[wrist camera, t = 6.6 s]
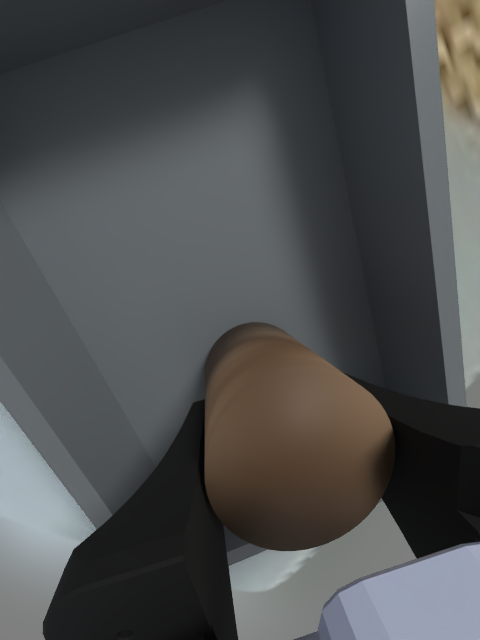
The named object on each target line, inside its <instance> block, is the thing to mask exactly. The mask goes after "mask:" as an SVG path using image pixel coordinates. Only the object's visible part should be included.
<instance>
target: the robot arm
mask: <svg viewBox="0 0 480 640" xmlns="http://www.w3.org/2000/svg"><path fill="white" fill-rule="evenodd" d="M342 373H343V372H342ZM344 374H345V375H347V376H348V377H349V378H351V379H352V380H354V381H355V382H356V383H358V384H359V385H361V386H362V387H363V388H365V389H366V390H367V391H368V392H370V393H371V394H372V395H373V396H374V397H375V398H376V399H377V400H378V401H379V403H380V404H381V406H382V407H383V409H384V410H385V411H386V414H387V416H388V418H389V420H390V422H391V425H392V429H393V432H394V438H395V462H394V468H393V472H392V476H391V478H390V481H389V484H388V486H387V488H386V490H385V492H384V494H383V496H382V500H383V501H384V503H385V504H386V506H387V508H388V509H389V511H390V513H391V515H392V516H393V518H394V519H395V521H396V523H397V525H398V526H399V528H400V530H401V531H402V533H403V535H404V537H405V538H406V540H407V542H408V544H409V546H410V547H411V549H412V551H413V553H414V554H415V556H416V558H417V559H415V560H412V561H409V562H406V563H403V564H400V565H397V566H394V567H391V568H388V569H385V570H382V571H379V572H376V573H373V574H370V575H367V576H364V577H361V578H359V579H357V580H355V581H353V582H351V583H349V584H347V585H345V586H344V587H342V588H340V589H338V590H337V591H336V592H335V594H334V595H333V596H332V597H331V598H330V599H329V600H328V601H327V602H326V603H325V605H324V607H323V610H322V614H321V618H320V623H319V627H318V631H317V632H314V633H312V634H309V635H306V636H303V637H300V638H297V639H294V640H480V409H478V408H470V407H463V406H456V405H450V404H444V403H439V402H434V401H429V400H424V399H420V398H416V397H412V396H408V395H405V394H401V393H397V392H394V391H391V390H388V389H385V388H382V387H379V386H376V385H374V384H371V383H368V382H366V381H363V380H360V379H358V378H355V377H353V376H351V375H348V374H346V373H344ZM43 635H44V637H45V640H238V636H237V628H236V621H235V614H234V606H233V598H232V591H231V583H230V575H229V567H228V559H227V551H226V543H225V534H224V526H223V523H222V522H221V521H220V519H219V518H218V517H217V515H216V514H215V512H214V510H213V508H212V506H211V504H210V501H209V498H208V495H207V492H206V486H205V399H204V400H200V401H196V402H193V404H192V406H191V408H190V410H189V412H188V414H187V417H186V419H185V421H184V423H183V425H182V427H181V428H180V430H179V432H178V434H177V436H176V438H175V439H174V441H173V443H172V444H171V446H170V448H169V449H168V451H167V452H166V454H165V456H164V457H163V459H162V460H161V461H160V463H159V464H158V466H157V467H156V468H155V470H154V471H153V472H152V473H151V475H150V476H149V477H148V478H147V479H146V480H145V482H144V483H143V484H142V485H141V486H140V487H139V489H138V490H137V491H136V492H135V493H134V494H133V495H132V496H131V497H130V499H129V500H128V501H127V502H126V503H125V504H124V505H123V506H122V507H121V508H120V509H119V510H118V511H117V512H116V513H115V514H114V515H113V516H111V517H110V518H109V519H108V520H107V521H106V522H105V523H104V524H103V525H102V526H100V527H99V528H98V529H97V530H96V531H95V532H94V533H92V534H91V535H90V536H89V537H88V538H87V539H86V540H84V541H83V542H82V543H81V544H80V545H79V546H77V547H76V548H75V549H74V550H73V552H72V555H71V556H70V558H69V561H68V563H67V565H66V567H65V569H64V572H63V574H62V577H61V579H60V582H59V584H58V587H57V589H56V592H55V594H54V597H53V599H52V601H51V604H50V607H49V609H48V612H47V614H46V617H45V619H44V621H43Z"/></svg>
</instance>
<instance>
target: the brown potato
mask: <svg viewBox="0 0 480 640" xmlns="http://www.w3.org/2000/svg"><path fill="white" fill-rule="evenodd" d="M394 462H395V438H394V432H393V429H392V425H391V422H390V420H389V418H388V416H387V414H386V411H385V410H384V409H383V407H382V406H381V404H380V403H379V401H378V400H377V399H376V398H375V397H374V396H373V395H372V394H371V393H370V392H368V391H367V390H366V389H365V388H363V387H362V386H361V385H359V384H358V383H356V382H355V381H354V380H352V379H351V378H349V377H348V376H347V375H345V374H344V373H342V372H341V371H340V370H338V369H337V368H335V367H334V366H333V365H331V364H330V363H328V362H327V361H326V360H324V359H323V358H321V357H320V356H319V355H317V354H316V353H314V352H313V351H312V350H310V349H309V348H307V347H306V346H304V345H303V344H302V343H300V342H299V341H297V340H296V339H295V338H293V337H292V336H290V335H289V334H288V333H286V332H285V331H283V330H282V329H280V328H278V327H276V326H274V325H271V324H268V323H262V322H251V323H245V324H241V325H238V326H236V327H233V328H232V329H230V330H228V331H227V332H225V333H224V334H223V335H222V336H221V337H220V338H219V339H218V340H217V341H216V342H215V344H214V345H213V347H212V348H211V350H210V352H209V354H208V357H207V361H206V366H205V486H206V492H207V495H208V498H209V501H210V504H211V506H212V508H213V510H214V512H215V514H216V515H217V517H218V518H219V519H220V521H221V522H222V523H223V524H224V525H225V526H226V527H227V528H228V529H229V530H230V531H231V532H232V533H233V534H235V535H236V536H237V537H239V538H241V539H242V540H244V541H246V542H248V543H250V544H253V545H255V546H258V547H261V548H265V549H269V550H277V551H297V550H305V549H310V548H314V547H318V546H321V545H324V544H326V543H329V542H331V541H333V540H335V539H337V538H339V537H341V536H342V535H344V534H346V533H347V532H349V531H350V530H352V529H353V528H354V527H356V526H357V525H358V524H360V523H361V522H362V520H364V519H365V518H366V517H367V516H368V515H369V514H370V512H371V511H372V510H373V509H374V508H375V507H376V505H377V504H378V502H379V501H380V499H381V498H382V496H383V494H384V492H385V490H386V488H387V486H388V484H389V481H390V478H391V476H392V472H393V468H394Z"/></svg>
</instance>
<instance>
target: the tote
mask: <svg viewBox="0 0 480 640" xmlns="http://www.w3.org/2000/svg"><path fill="white" fill-rule="evenodd" d="M251 322H262V323H268V324H271V325H274V326H276V327H278V328H280V329H282V330H283V331H285V332H286V333H288V334H289V335H290V336H292V337H293V338H295V339H296V340H297V341H299V342H300V343H302V344H303V345H304V346H306V347H307V348H309V349H310V350H312V351H313V352H314V353H316V354H317V355H319V356H320V357H321V358H323V359H324V360H326V361H327V362H328V363H330V364H331V365H333V366H334V367H335V368H337V369H338V370H340V371H341V372H343V373H346V374H348V375H351V376H353V377H355V378H358V379H360V380H363V381H366V382H368V383H371V384H374V385H376V386H379V387H382V388H385V389H388V390H391V391H394V392H397V393H401V394H405V395H408V396H412V397H416V398H420V399H424V400H429V401H434V402H439V403H444V404H450V405H456V406H463V407H467V405H466V392H465V380H464V367H463V355H462V342H461V330H460V318H459V305H458V293H457V280H456V268H455V256H454V243H453V231H452V218H451V206H450V194H449V181H448V169H447V156H446V144H445V131H444V119H443V107H442V94H441V82H440V69H439V57H438V45H437V32H436V20H435V7H434V0H0V401H1V402H2V404H3V405H4V406H5V408H6V409H7V410H8V412H9V413H10V414H11V416H12V417H13V418H14V420H15V421H16V422H17V424H18V425H19V426H20V428H21V429H22V430H23V432H24V433H25V434H26V436H27V437H28V438H29V440H30V441H31V442H32V444H33V445H34V446H35V448H36V449H37V450H38V452H39V453H40V454H41V455H42V457H43V458H44V459H45V461H46V462H47V463H48V465H49V466H50V467H51V469H52V470H53V471H54V473H55V474H56V475H57V477H58V478H59V479H60V481H61V482H62V483H63V485H64V486H65V487H66V489H67V490H68V491H69V493H70V494H71V495H72V497H73V498H74V499H75V501H76V502H77V503H78V505H79V506H80V507H81V509H82V510H83V511H84V513H85V514H86V515H87V516H88V518H89V519H90V520H91V522H92V523H93V524H94V526H95V527H96V528H97V529H98V528H99V527H100V526H102V525H103V524H104V523H105V522H106V521H107V520H108V519H109V518H110V517H111V516H113V515H114V514H115V513H116V512H117V511H118V510H119V509H120V508H121V507H122V506H123V505H124V504H125V503H126V502H127V501H128V500H129V499H130V497H131V496H132V495H133V494H134V493H135V492H136V491H137V490H138V489H139V487H140V486H141V485H142V484H143V483H144V482H145V480H146V479H147V478H148V477H149V476H150V475H151V473H152V472H153V471H154V470H155V468H156V467H157V466H158V464H159V463H160V461H161V460H162V459H163V457H164V456H165V454H166V452H167V451H168V449H169V448H170V446H171V444H172V443H173V441H174V439H175V438H176V436H177V434H178V432H179V430H180V428H181V427H182V425H183V423H184V421H185V419H186V417H187V414H188V412H189V410H190V408H191V406H192V404H193V402H196V401H200V400H204V399H205V366H206V361H207V357H208V354H209V352H210V350H211V348H212V347H213V345H214V344H215V342H216V341H217V340H218V339H219V338H220V337H221V336H222V335H223V334H224V333H225V332H227V331H228V330H230V329H232V328H233V327H236V326H238V325H241V324H245V323H251ZM381 501H383V500H382V498H381V499H380V501H379V502H381ZM379 502H378V503H379ZM223 526H224V534H225V543H226V551H227V559H228V566H229V565H232V564H234V563H237V562H239V561H241V560H244V559H246V558H248V557H251V556H253V555H255V554H258V553H260V552H263V551H265V550H267V549H265V548H261V547H258V546H255V545H253V544H250V543H248V542H246V541H244V540H242V539H241V538H239V537H237V536H236V535H235V534H233V533H232V532H231V531H230V530H229V529H228V528H227V527H226V526H225V525H224V524H223Z"/></svg>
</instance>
